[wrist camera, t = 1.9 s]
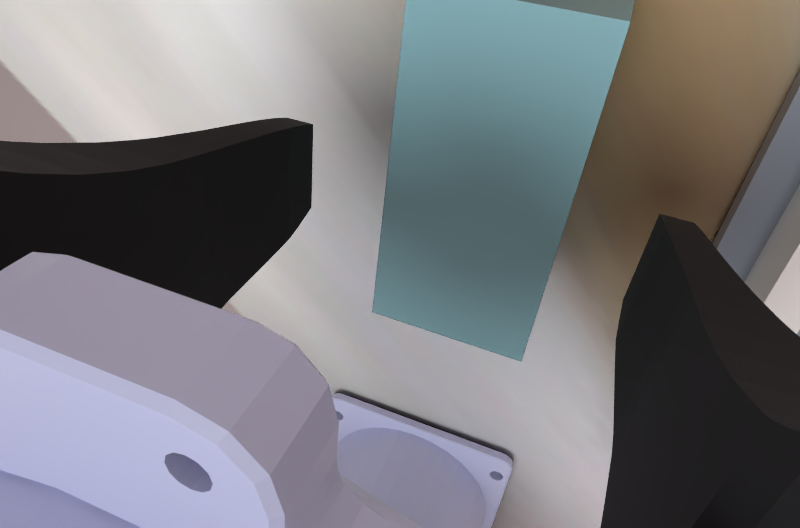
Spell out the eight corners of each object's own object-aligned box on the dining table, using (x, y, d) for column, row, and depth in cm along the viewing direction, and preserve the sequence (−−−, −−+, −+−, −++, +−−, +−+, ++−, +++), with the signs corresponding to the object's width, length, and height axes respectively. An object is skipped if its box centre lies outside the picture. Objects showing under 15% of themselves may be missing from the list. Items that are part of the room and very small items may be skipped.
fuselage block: (550, 259, 18) (521, 361, 14) (430, 224, 19) (372, 312, 15) (638, -18, 14) (630, 21, 10) (475, -46, 15) (408, -20, 11)
